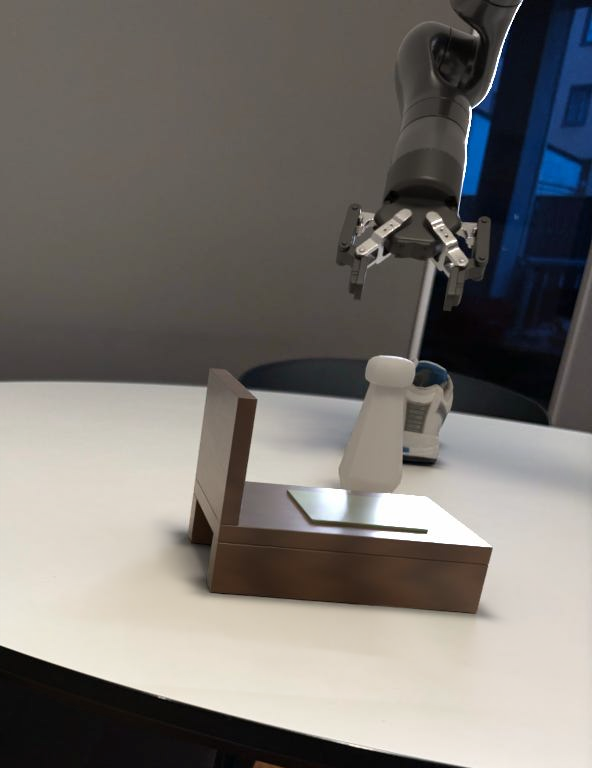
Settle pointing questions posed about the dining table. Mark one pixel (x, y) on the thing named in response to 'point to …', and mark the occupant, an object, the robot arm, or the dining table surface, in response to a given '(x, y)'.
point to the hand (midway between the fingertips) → (403, 299)
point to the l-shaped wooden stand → (321, 529)
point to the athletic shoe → (425, 411)
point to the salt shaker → (378, 429)
